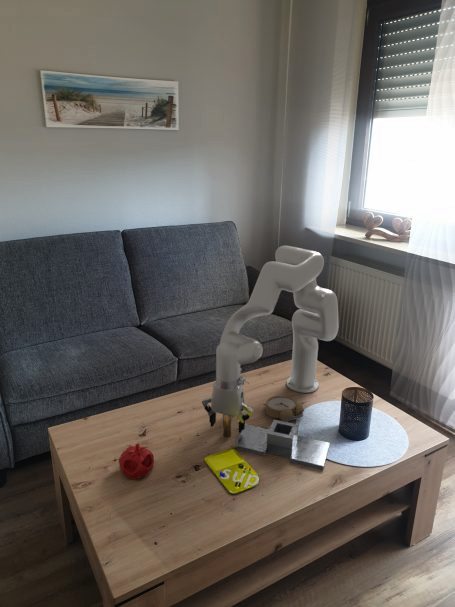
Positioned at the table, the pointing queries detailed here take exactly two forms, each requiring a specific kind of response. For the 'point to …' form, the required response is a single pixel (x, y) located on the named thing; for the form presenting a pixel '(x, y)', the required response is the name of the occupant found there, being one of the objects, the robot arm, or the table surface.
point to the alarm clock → (284, 408)
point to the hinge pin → (226, 425)
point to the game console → (232, 471)
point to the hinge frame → (283, 444)
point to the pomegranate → (136, 461)
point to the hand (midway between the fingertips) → (226, 427)
